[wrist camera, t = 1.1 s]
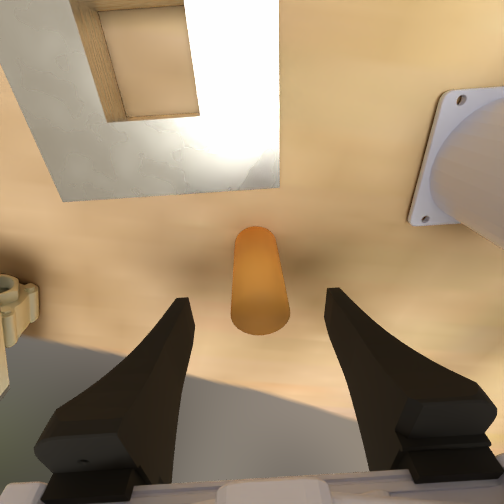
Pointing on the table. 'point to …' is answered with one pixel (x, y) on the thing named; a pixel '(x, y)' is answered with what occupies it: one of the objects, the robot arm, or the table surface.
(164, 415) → the robot arm
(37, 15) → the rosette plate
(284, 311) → the orange cylinder
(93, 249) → the table surface
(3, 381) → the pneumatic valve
